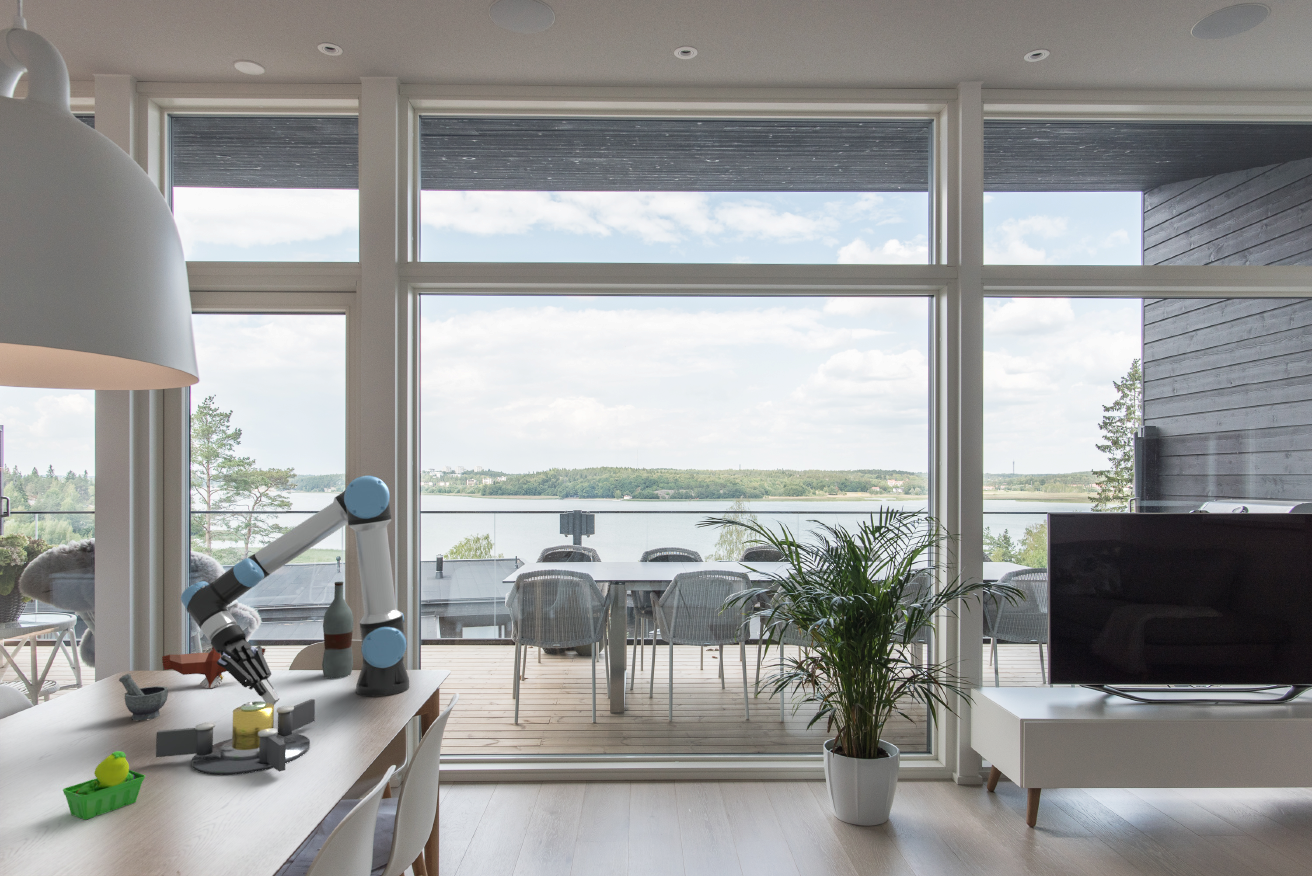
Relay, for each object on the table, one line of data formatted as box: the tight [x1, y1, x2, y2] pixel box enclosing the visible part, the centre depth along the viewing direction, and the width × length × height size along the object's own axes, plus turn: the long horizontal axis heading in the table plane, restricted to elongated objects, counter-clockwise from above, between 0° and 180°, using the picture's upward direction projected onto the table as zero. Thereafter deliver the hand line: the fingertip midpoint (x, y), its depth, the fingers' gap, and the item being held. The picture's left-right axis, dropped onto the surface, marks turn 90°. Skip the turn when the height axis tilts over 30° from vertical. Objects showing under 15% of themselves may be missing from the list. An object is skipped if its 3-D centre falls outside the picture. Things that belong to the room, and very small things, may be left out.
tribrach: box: [191, 700, 311, 776], centre depth 174 cm, size 24×24×12 cm
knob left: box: [258, 728, 286, 772], centre depth 164 cm, size 12×4×6 cm, turn 45°
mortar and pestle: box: [118, 673, 169, 722], centre depth 201 cm, size 11×9×12 cm
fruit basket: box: [62, 750, 146, 820], centre depth 145 cm, size 11×9×11 cm
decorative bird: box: [161, 645, 266, 690], centre depth 235 cm, size 28×18×15 cm, turn 110°
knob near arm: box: [276, 698, 316, 736], centre depth 187 cm, size 12×4×6 cm, turn 165°
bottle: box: [321, 581, 355, 679], centre depth 244 cm, size 9×9×30 cm
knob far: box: [155, 721, 216, 758], centre depth 170 cm, size 12×4×6 cm, turn 105°
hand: (274, 702), depth 192 cm, fingers closed
